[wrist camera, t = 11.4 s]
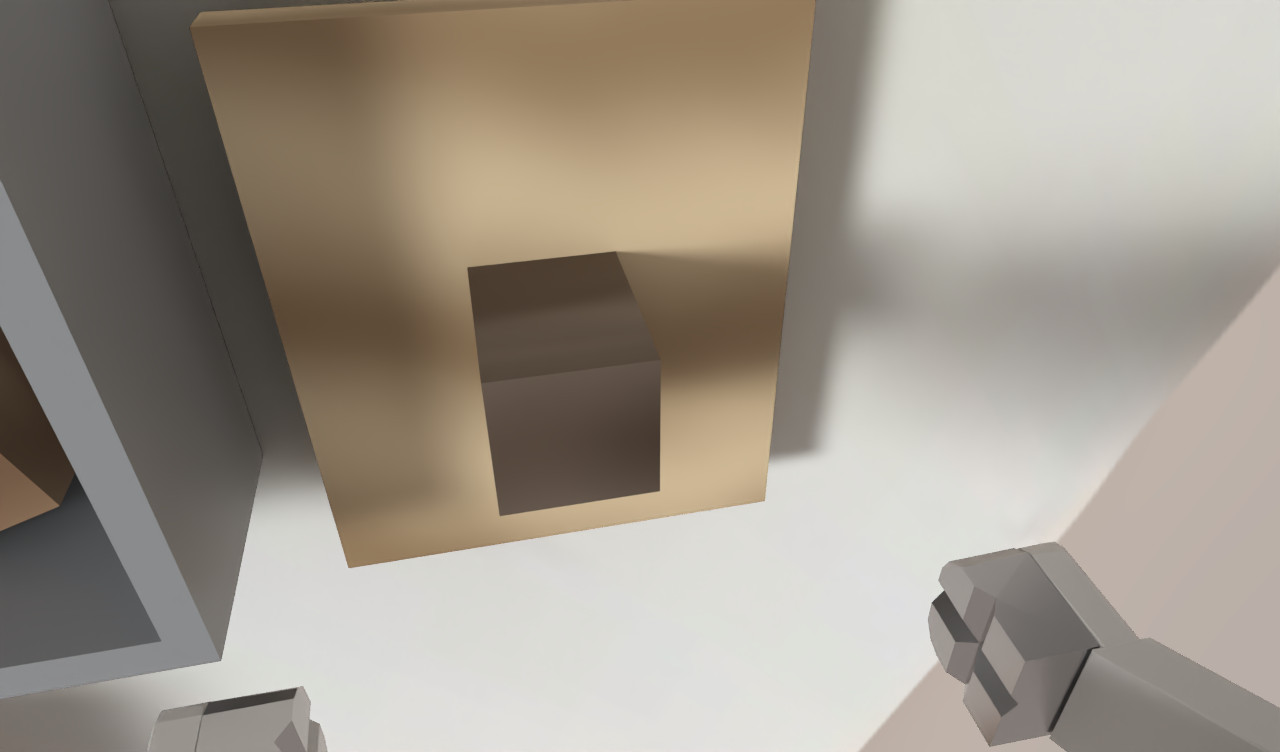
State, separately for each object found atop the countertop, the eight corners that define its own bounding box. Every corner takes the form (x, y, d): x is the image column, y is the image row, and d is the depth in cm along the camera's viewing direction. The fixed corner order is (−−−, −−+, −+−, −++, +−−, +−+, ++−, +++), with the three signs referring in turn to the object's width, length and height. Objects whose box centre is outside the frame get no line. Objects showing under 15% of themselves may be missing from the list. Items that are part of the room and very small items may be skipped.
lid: (212, -5, 16) (124, 109, 11) (775, -35, 18) (920, 50, 13) (353, 506, 23) (338, 711, 18) (739, 448, 25) (821, 621, 20)
